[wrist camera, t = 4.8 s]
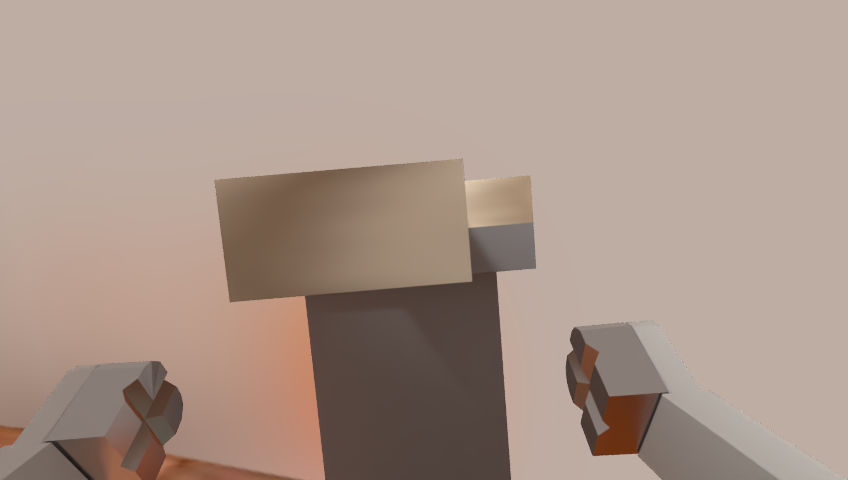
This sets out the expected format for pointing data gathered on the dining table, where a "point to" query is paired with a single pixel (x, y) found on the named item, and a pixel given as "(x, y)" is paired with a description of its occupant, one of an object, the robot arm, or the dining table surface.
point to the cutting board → (359, 227)
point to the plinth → (418, 372)
